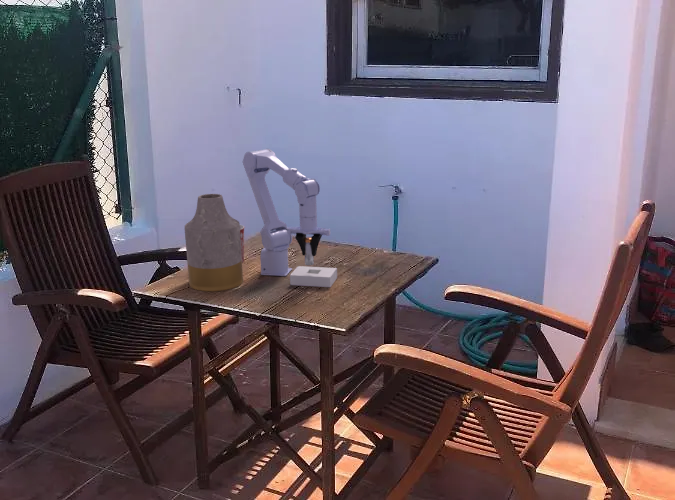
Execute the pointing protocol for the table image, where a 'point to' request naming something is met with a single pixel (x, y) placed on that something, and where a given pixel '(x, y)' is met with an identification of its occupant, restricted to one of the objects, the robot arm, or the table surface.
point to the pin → (308, 251)
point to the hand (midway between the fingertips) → (309, 254)
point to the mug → (242, 241)
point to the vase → (213, 247)
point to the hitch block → (313, 276)
